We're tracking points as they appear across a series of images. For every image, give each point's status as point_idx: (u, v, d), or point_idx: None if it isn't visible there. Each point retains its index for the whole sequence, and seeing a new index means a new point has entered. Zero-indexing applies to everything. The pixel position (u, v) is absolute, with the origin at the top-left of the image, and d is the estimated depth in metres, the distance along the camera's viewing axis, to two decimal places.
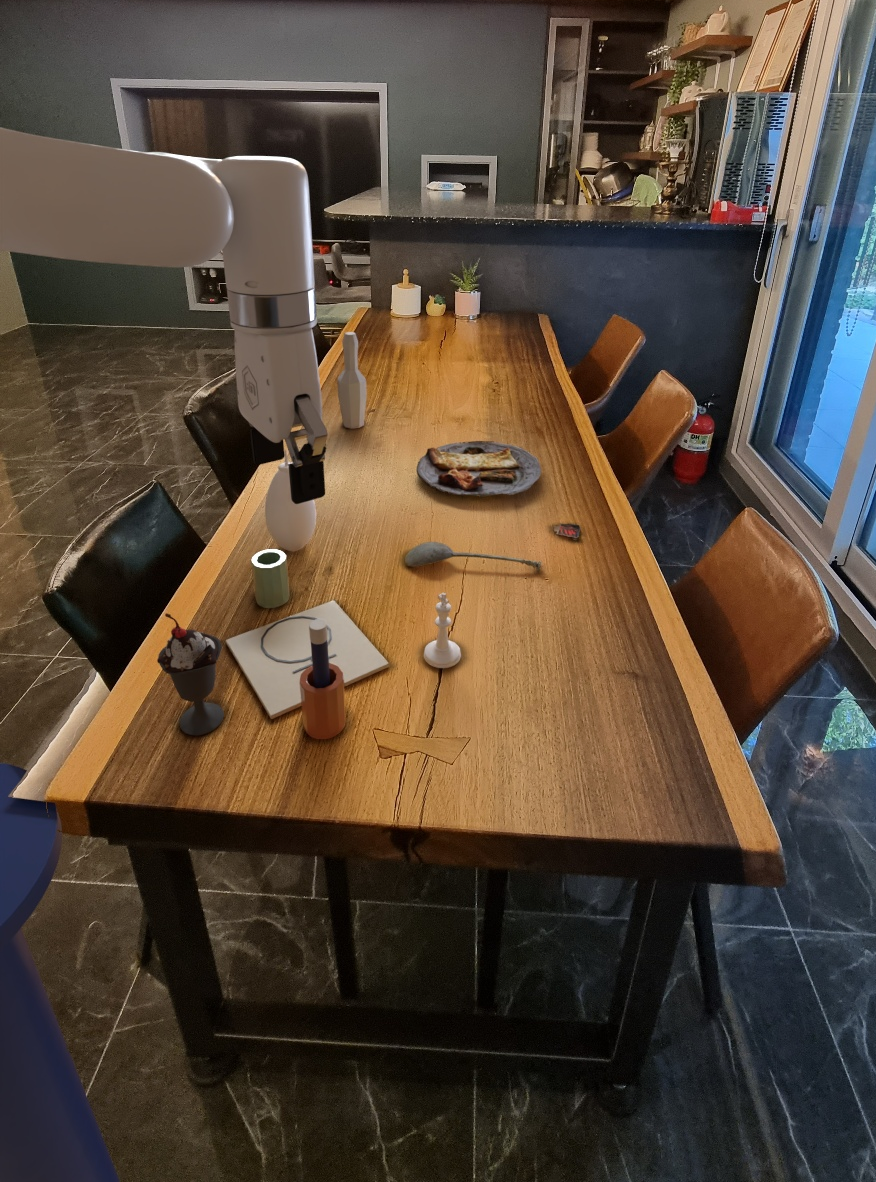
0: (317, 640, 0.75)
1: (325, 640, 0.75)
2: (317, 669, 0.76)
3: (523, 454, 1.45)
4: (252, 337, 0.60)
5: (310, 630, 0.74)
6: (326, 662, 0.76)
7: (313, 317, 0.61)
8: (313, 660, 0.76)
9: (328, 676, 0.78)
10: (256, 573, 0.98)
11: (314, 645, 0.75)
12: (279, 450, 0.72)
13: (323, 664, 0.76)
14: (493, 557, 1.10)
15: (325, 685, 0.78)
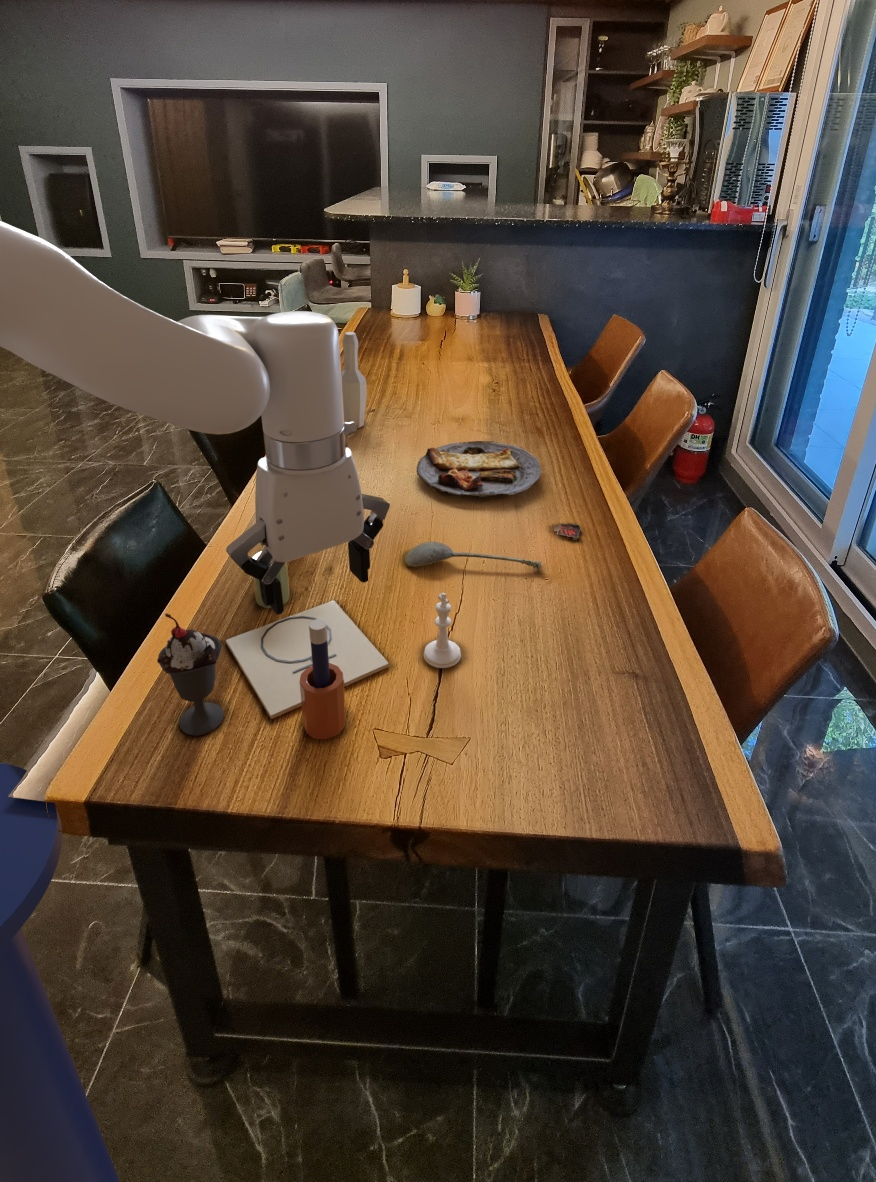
0: (317, 640, 0.75)
1: (325, 640, 0.75)
2: (317, 669, 0.76)
3: (523, 454, 1.45)
4: None
5: (310, 630, 0.74)
6: (326, 662, 0.76)
7: (290, 467, 0.63)
8: (313, 660, 0.76)
9: (328, 676, 0.78)
10: None
11: (314, 645, 0.75)
12: (359, 572, 0.74)
13: (323, 664, 0.76)
14: (493, 557, 1.10)
15: (325, 685, 0.78)
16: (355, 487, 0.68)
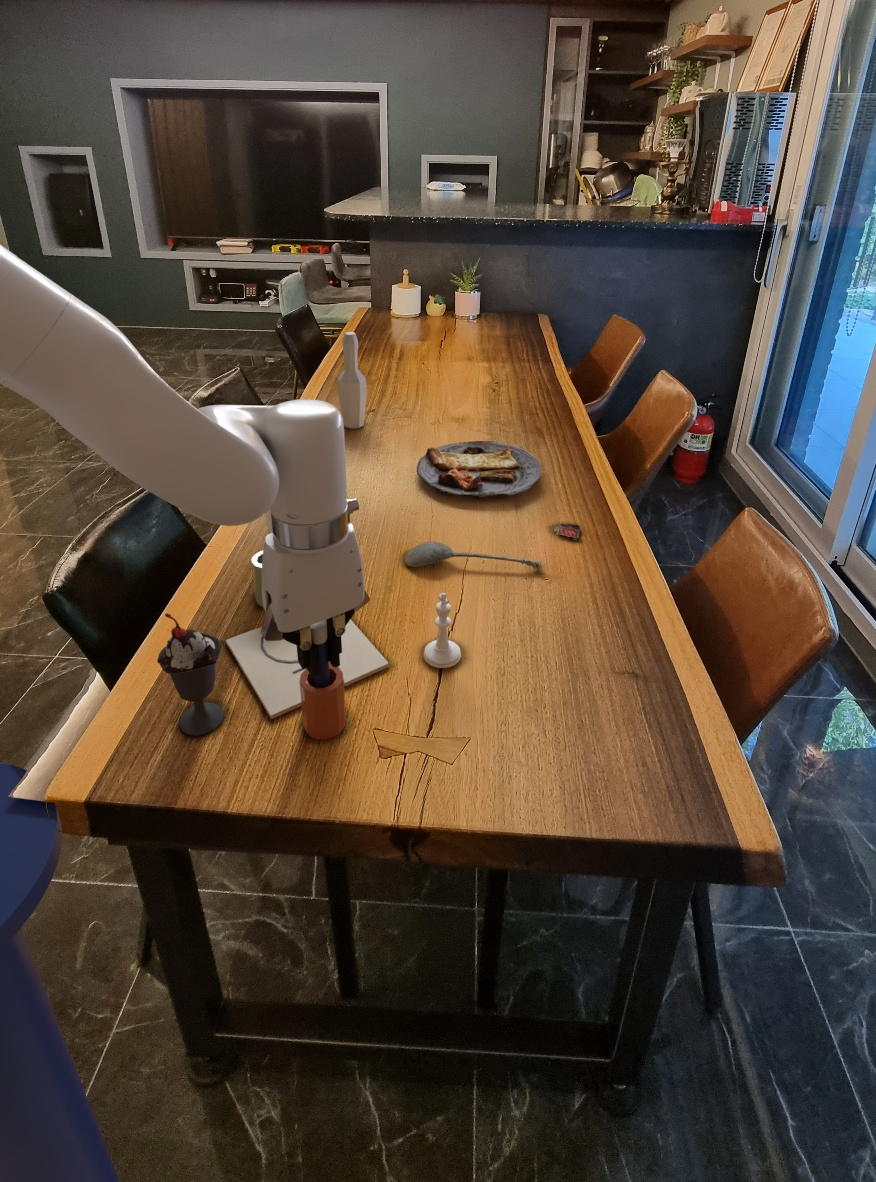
0: (317, 640, 0.75)
1: (325, 640, 0.75)
2: None
3: (523, 454, 1.45)
4: None
5: None
6: (326, 662, 0.76)
7: (296, 547, 0.66)
8: None
9: (328, 676, 0.78)
10: (256, 573, 0.98)
11: None
12: (331, 658, 0.76)
13: (323, 664, 0.76)
14: (493, 557, 1.10)
15: (325, 685, 0.78)
16: (357, 560, 0.72)
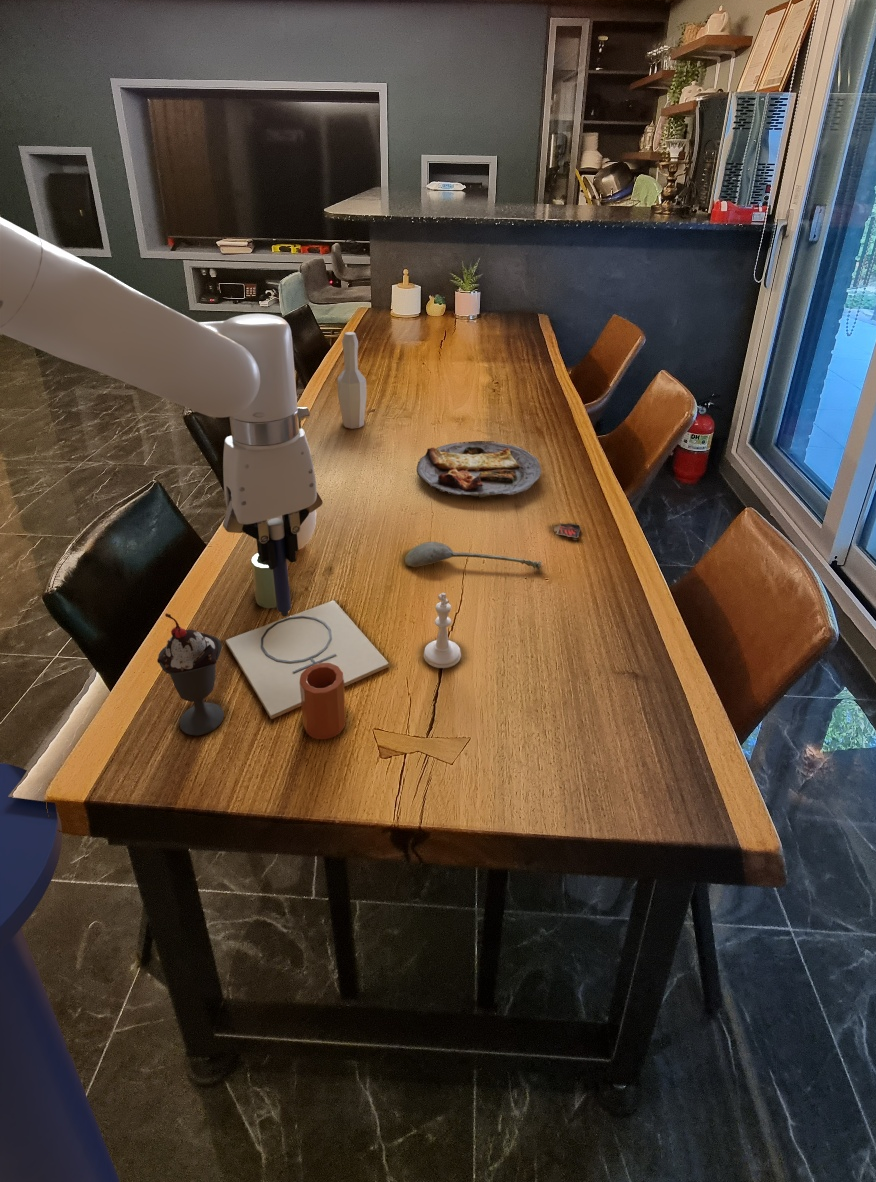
0: (274, 536, 0.84)
1: (282, 537, 0.84)
2: (276, 564, 0.86)
3: (523, 454, 1.45)
4: None
5: (268, 527, 0.84)
6: (283, 558, 0.86)
7: (251, 443, 0.76)
8: None
9: (286, 572, 0.87)
10: (256, 573, 0.98)
11: None
12: (288, 554, 0.86)
13: (281, 559, 0.86)
14: (493, 557, 1.10)
15: (283, 580, 0.87)
16: (308, 462, 0.81)
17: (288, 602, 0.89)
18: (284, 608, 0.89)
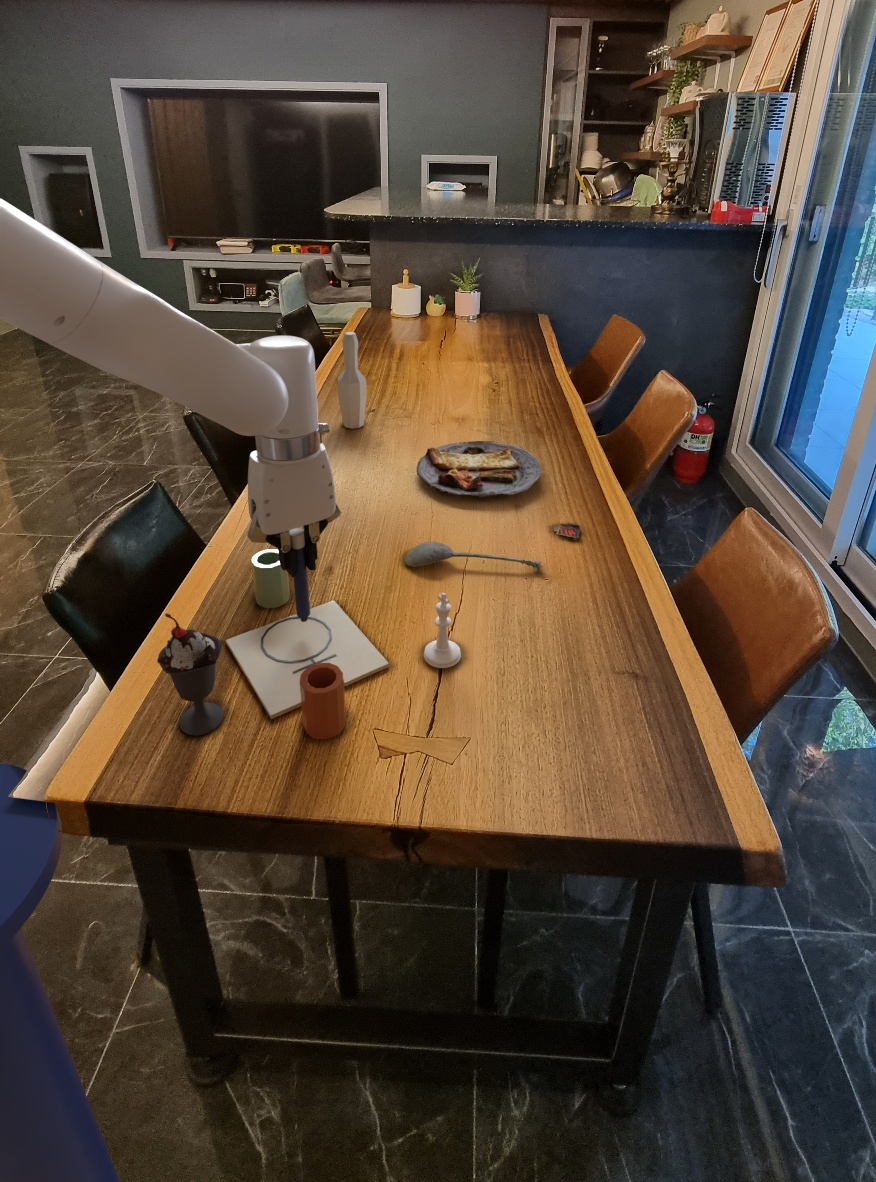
0: (296, 545, 0.88)
1: (302, 546, 0.89)
2: None
3: (523, 454, 1.45)
4: None
5: (290, 537, 0.88)
6: (303, 566, 0.90)
7: (275, 458, 0.80)
8: None
9: (306, 579, 0.91)
10: (256, 573, 0.98)
11: None
12: (308, 562, 0.90)
13: (301, 567, 0.90)
14: (493, 557, 1.10)
15: (303, 587, 0.91)
16: (328, 475, 0.85)
17: (307, 608, 0.93)
18: (303, 614, 0.93)
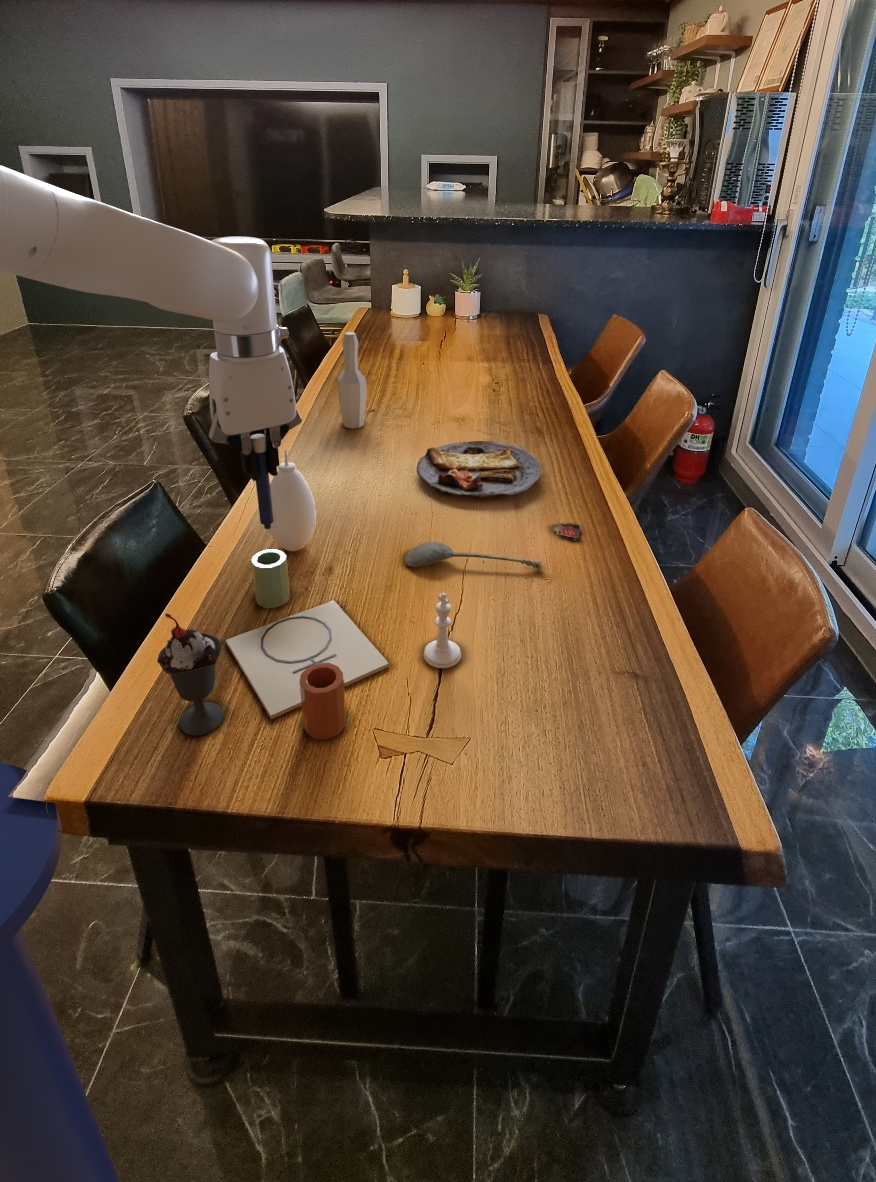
0: (257, 449, 0.91)
1: (264, 450, 0.91)
2: None
3: (523, 454, 1.45)
4: None
5: (251, 440, 0.91)
6: (265, 471, 0.93)
7: (234, 355, 0.82)
8: None
9: (268, 485, 0.94)
10: (256, 573, 0.98)
11: None
12: (270, 467, 0.93)
13: (263, 472, 0.92)
14: (493, 557, 1.10)
15: (266, 492, 0.94)
16: (287, 378, 0.88)
17: (270, 515, 0.96)
18: (266, 521, 0.95)
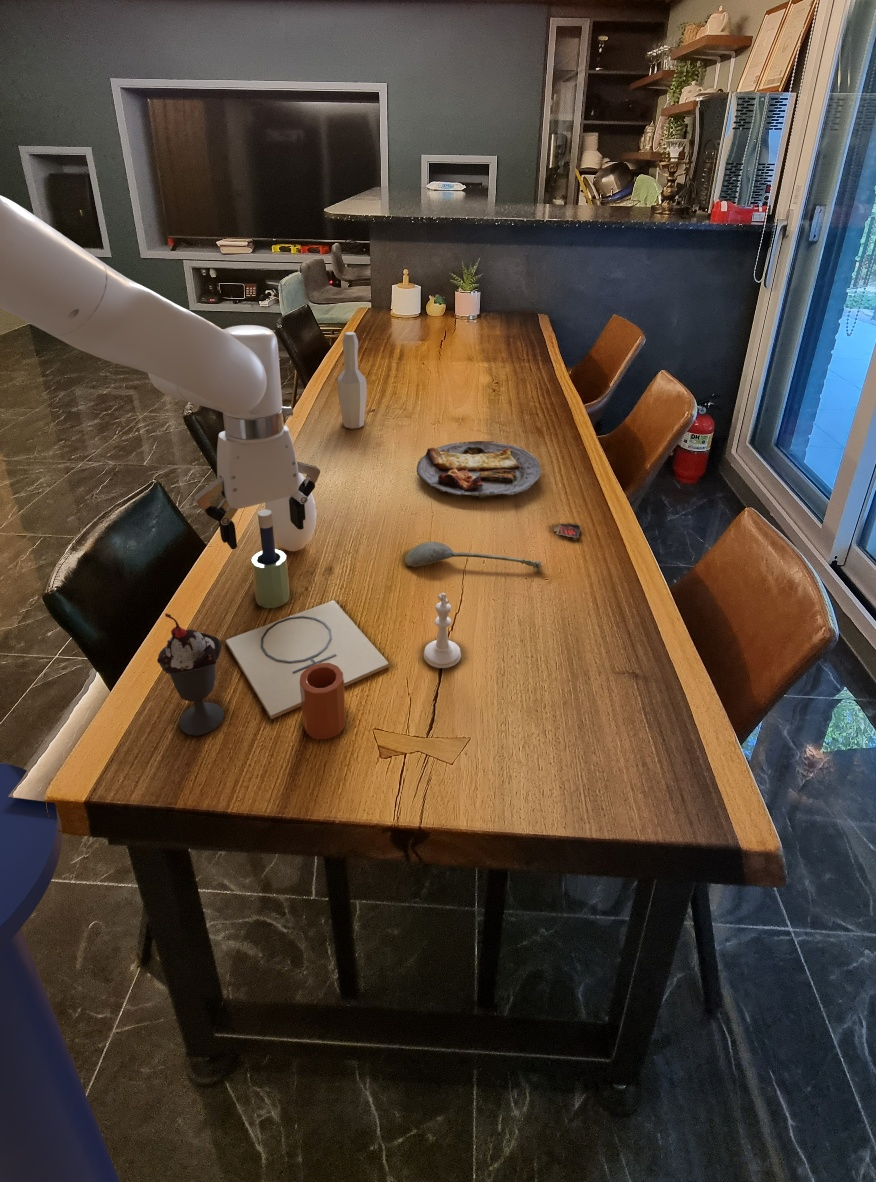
0: (264, 525, 0.96)
1: (270, 525, 0.97)
2: (265, 549, 0.98)
3: (523, 454, 1.45)
4: None
5: (258, 517, 0.96)
6: (272, 544, 0.98)
7: (241, 437, 0.87)
8: (262, 542, 0.97)
9: (274, 556, 0.99)
10: (256, 573, 0.98)
11: (262, 529, 0.96)
12: (297, 522, 0.98)
13: (270, 545, 0.98)
14: (493, 557, 1.10)
15: (272, 563, 0.99)
16: (291, 455, 0.93)
17: None
18: None
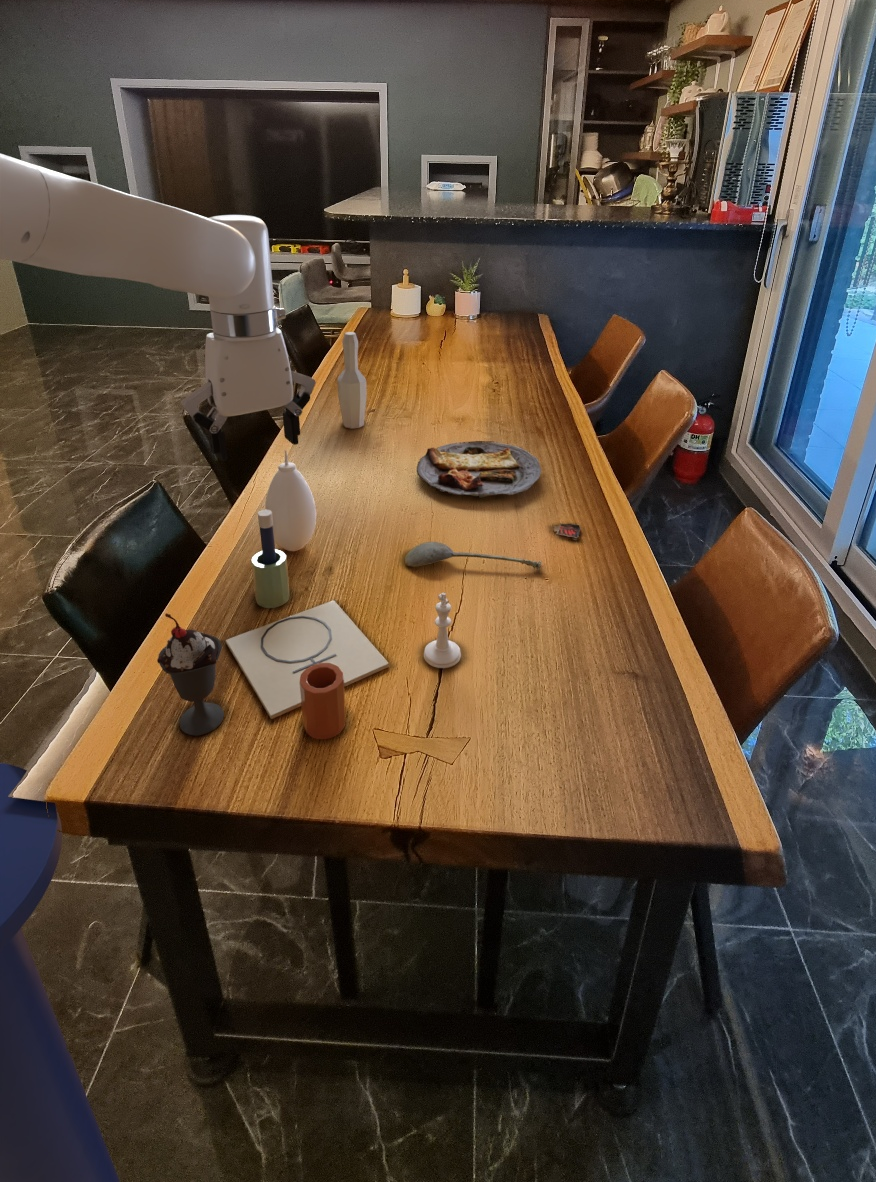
0: (264, 525, 0.96)
1: (270, 525, 0.97)
2: (265, 549, 0.98)
3: (523, 454, 1.45)
4: None
5: (258, 517, 0.96)
6: (272, 544, 0.98)
7: (230, 334, 0.82)
8: (262, 542, 0.97)
9: (274, 556, 0.99)
10: (256, 573, 0.98)
11: (262, 529, 0.96)
12: (291, 436, 0.93)
13: (270, 545, 0.98)
14: (493, 557, 1.10)
15: (272, 563, 0.99)
16: (284, 360, 0.87)
17: None
18: None
